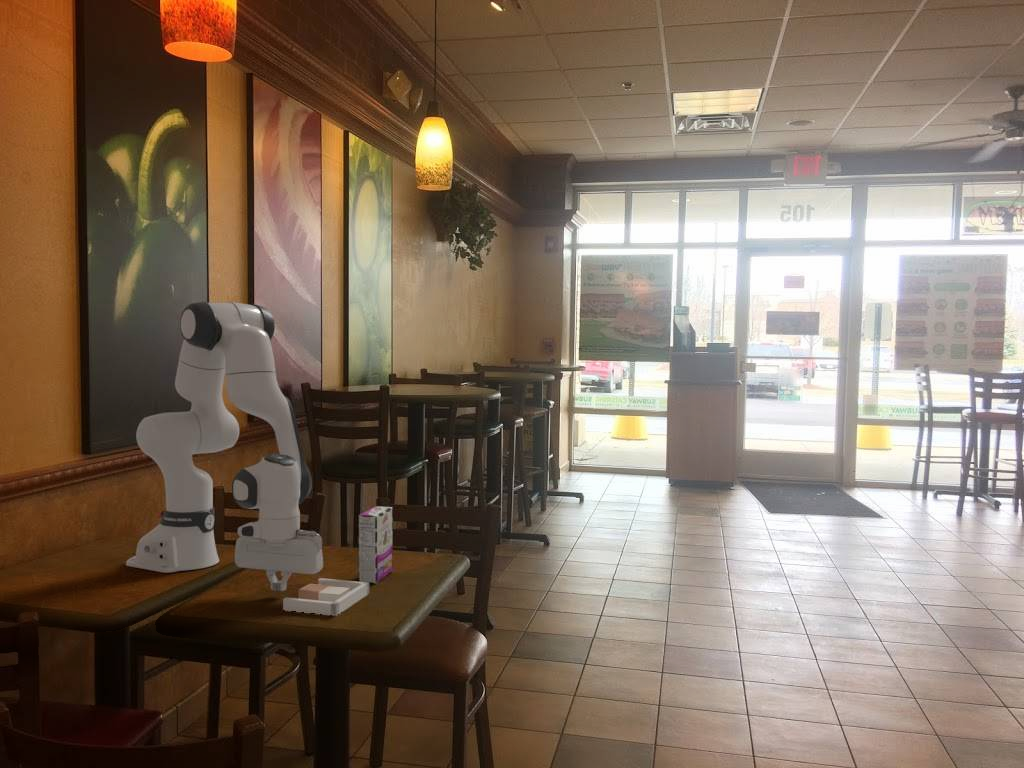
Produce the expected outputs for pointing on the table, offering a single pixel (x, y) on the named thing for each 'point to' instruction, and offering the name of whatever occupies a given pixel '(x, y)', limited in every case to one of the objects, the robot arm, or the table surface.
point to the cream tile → (332, 593)
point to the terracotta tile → (311, 591)
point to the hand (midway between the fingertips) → (278, 589)
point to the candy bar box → (375, 544)
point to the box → (325, 607)
